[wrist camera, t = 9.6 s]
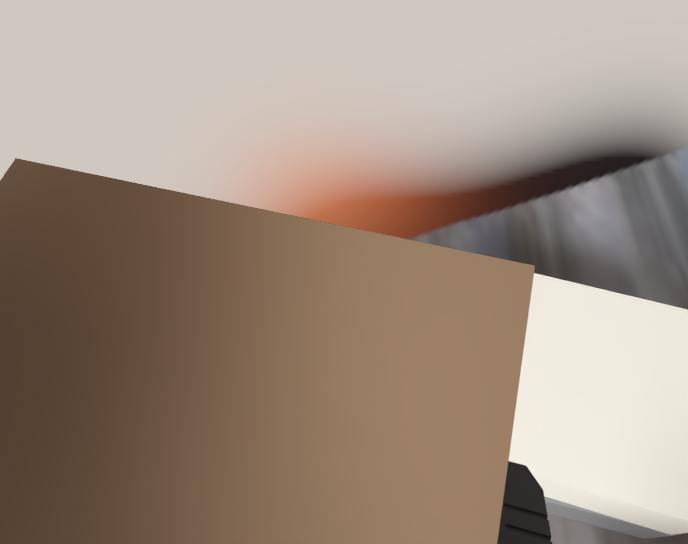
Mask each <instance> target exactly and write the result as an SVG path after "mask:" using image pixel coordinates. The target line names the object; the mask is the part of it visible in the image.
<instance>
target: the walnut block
mask: <svg viewBox="0 0 688 544" xmlns="http://www.w3.org/2000/svg"><path fill="white" fill-rule="evenodd" d="M534 270H535V266H534V265H529V264H524V263H519V262H515V261H510V260H505V259H500V258H495V257H490V256H486V255H481V254H476V253H471V252H466V251H461V250H456V249H452V248H447V247H442V246H437V245H432V244H427V243H423V242H418V241H413V240H408V239H403V238H398V237H393V236H389V235H384V234H379V233H374V232H369V231H365V230H360V229H355V228H350V227H345V226H340V225H336V224H331V223H326V222H321V221H316V220H311V219H307V218H302V217H297V216H292V215H287V214H282V213H277V212H273V211H268V210H263V209H258V208H253V207H248V206H244V205H239V204H234V203H229V202H224V201H219V200H214V199H210V198H205V197H200V196H195V195H190V194H186V193H180V192H176V191H171V190H166V189H161V188H157V187H152V186H147V185H142V184H137V183H132V182H127V181H123V180H118V179H113V178H108V177H103V176H98V175H93V174H89V173H84V172H79V171H74V170H69V169H64V168H60V167H55V166H49V165H45V164H40V163H36V162H31V161H26V160H21V159H15V160H14V162H13V163H12V165H11V166H10V168H9V169H8V171H7V172H6V173H5V175H4V177H3V178H2V179H1V181H0V544H497V541H498V534H499V527H500V519H501V512H502V505H503V497H504V490H505V483H506V475H507V468H508V461H509V453H510V446H511V438H512V431H513V424H514V416H515V409H516V402H517V394H518V387H519V380H520V372H521V365H522V358H523V350H524V343H525V336H526V328H527V321H528V314H529V306H530V299H531V292H532V284H533V277H534Z"/></svg>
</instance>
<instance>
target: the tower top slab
mask: <svg viewBox="0 0 688 544" xmlns="http://www.w3.org/2000/svg"><path fill="white" fill-rule="evenodd" d="M509 461H510V462H514V463H518V464H522V465H525V466H527V467H528V469H529V470H530V472H531V473H532V475H533V476H534V478H535V479H536V480H537V482H538V483H539V485H540V486H541V488H542V489H543V492H544V496H545V497H548V498H552V499H555V500H558V501H561V502H565V503H568V504H571V505H575V506H578V507H581V508H584V509H588V510H591V511H594V512H597V513H601V514H604V515H607V516H611V517H614V518H617V519H620V520H624V521H627V522H630V523H633V524H637V525H640V526H643V527H647V528H650V529H653V530H656V531H660V532H663V533H666V534H670V535H674V534H682V533H688V310H687V309H683V308H679V307H675V306H670V305H666V304H662V303H658V302H654V301H649V300H645V299H641V298H637V297H633V296H628V295H624V294H620V293H616V292H612V291H607V290H603V289H599V288H595V287H591V286H586V285H582V284H578V283H574V282H570V281H565V280H561V279H557V278H553V277H549V276H544V275H540V274H536V273H534V277H533V284H532V292H531V299H530V306H529V314H528V321H527V328H526V336H525V343H524V350H523V358H522V365H521V372H520V380H519V387H518V394H517V402H516V409H515V416H514V424H513V431H512V438H511V446H510V453H509Z"/></svg>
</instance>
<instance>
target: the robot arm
mask: <svg viewBox="0 0 688 544" xmlns="http://www.w3.org/2000/svg"><path fill="white" fill-rule="evenodd" d="M550 540H551V533H550V527H549V521H548V520H547V509H546V504H545V498H544V492H543V489H542V488H541V486H540V485H539V483H538V482H537V480H536V479H535V478H534V476H533V475H532V473H531V472H530V470H529V469H528V467H527V466H525V465H522V464H518V463H514V462H510V461H508V468H507V475H506V483H505V490H504V497H503V505H502V512H501V519H500V527H499V534H498V541H497V544H552V542H550Z"/></svg>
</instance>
